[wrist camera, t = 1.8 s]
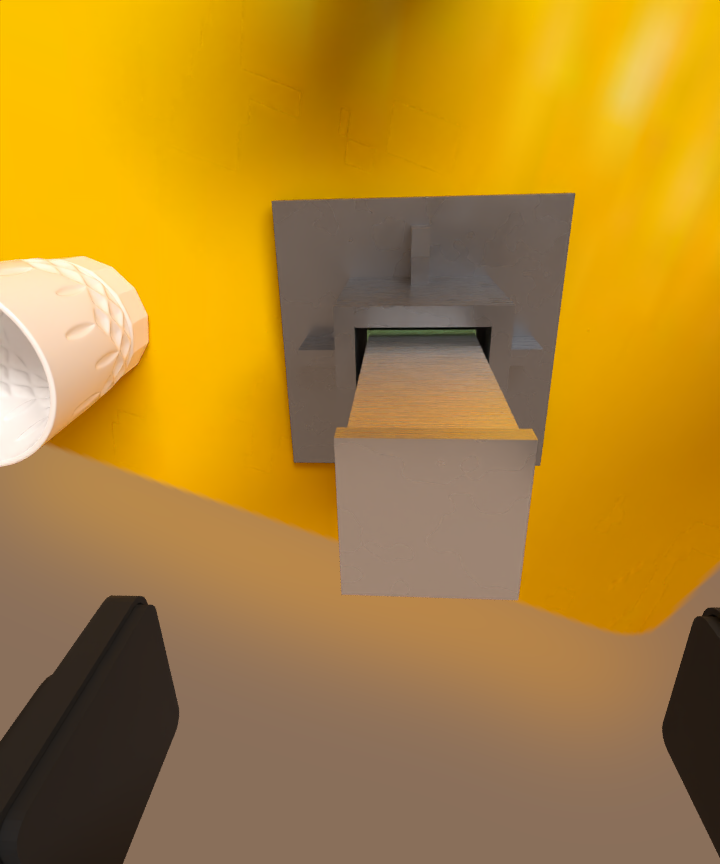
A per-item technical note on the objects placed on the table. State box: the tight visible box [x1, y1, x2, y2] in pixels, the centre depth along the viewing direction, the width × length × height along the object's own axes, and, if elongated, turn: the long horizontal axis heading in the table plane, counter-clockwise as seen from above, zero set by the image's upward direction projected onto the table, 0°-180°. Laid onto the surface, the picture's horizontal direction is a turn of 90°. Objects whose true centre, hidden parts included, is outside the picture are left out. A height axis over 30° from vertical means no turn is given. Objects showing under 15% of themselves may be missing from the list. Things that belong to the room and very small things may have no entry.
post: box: [334, 327, 538, 600], centre depth 21 cm, size 5×5×16 cm
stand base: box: [272, 193, 575, 466], centre depth 25 cm, size 14×14×8 cm
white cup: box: [0, 256, 149, 467], centre depth 25 cm, size 8×8×10 cm
